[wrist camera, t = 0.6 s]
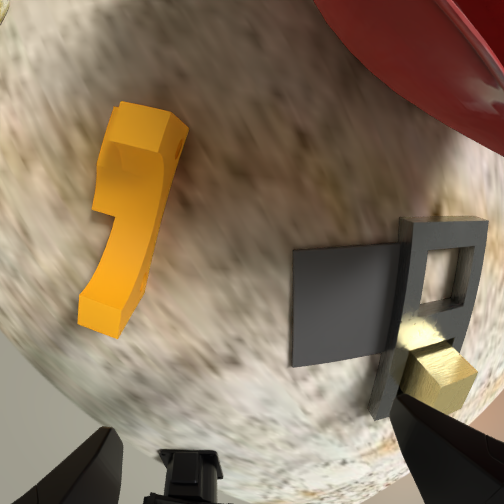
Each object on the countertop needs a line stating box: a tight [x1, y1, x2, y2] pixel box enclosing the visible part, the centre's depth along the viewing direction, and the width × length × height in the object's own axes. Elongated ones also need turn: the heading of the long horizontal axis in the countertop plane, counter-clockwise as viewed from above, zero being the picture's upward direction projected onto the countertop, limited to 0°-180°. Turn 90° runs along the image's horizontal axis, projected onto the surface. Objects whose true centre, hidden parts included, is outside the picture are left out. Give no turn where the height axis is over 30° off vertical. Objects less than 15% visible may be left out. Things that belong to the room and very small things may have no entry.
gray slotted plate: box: [368, 216, 489, 421], centre depth 23 cm, size 20×9×2 cm, turn 3°
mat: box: [292, 243, 400, 368], centre depth 22 cm, size 10×10×1 cm
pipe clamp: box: [78, 101, 189, 339], centre depth 16 cm, size 12×4×6 cm, turn 161°
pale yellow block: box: [399, 340, 478, 415], centre depth 21 cm, size 4×4×7 cm
